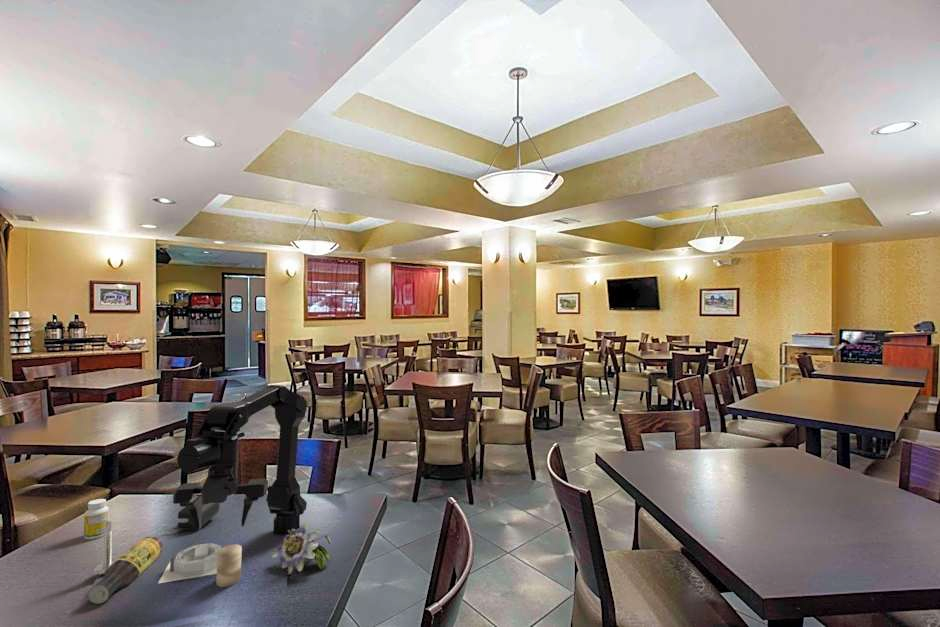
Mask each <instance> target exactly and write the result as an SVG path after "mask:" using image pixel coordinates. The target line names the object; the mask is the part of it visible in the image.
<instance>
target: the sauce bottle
mask: <svg viewBox="0 0 940 627" xmlns="http://www.w3.org/2000/svg"><path fill="white" fill-rule="evenodd" d="M163 547H164V546H163V542H162V541H161V539H160V538H158V537H157V536H145V537H144V538H142V539H140V540H139V541H137V542H136V543H135V544H134V545H132V547H130V548H129V549H127V551H125V553H123V554H122V555H121V556H120V557H118V558H117V559H116V560H114V561H115V562H114V563H113V564H112V565H111V566H110V567H109V568H108V569H107V570H106V571H105V574H103V575H104V576H103V578H102V579H101V580H100V581H99V582H97V583H95V585H93V586H92V587H91V588H90V590H89V591H88V594H87V595H88V599H89V601H90V602H91V603H93V604H95V605H100V604H103V603H105V602H106V601H108V599H110V598H111V597H112V595H113V594H114V593H115V592H116V591H117V590H121V589H123V588H124V587H127V586H128V585H130V584H131V583H133V581H134V580H136V579H137V578H138V577H139V576H140V575H141V574H142V573H143V572H144V571H145V570H146V569H148V568H149V567H150V565H151V564H152V563H153V562H155V561H156V560H157V558H158V557H159V556H160V554H162V552H163Z"/></svg>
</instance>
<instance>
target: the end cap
mask: <svg viewBox="0 0 940 627" xmlns="http://www.w3.org/2000/svg"><path fill="white" fill-rule="evenodd" d="M220 506H221V505H220V503H217V502H216V503H208V504H203V503H202V523H201V528H202V527H204V526H205V525H206V524H207V523H208V522H210V521H211V520H212V519H213V518H214V517H215V516H216V515H217V514H218V513H219V511H220ZM177 519H179V520H180V519H183V520H184V519H187V521H186V522H184V521H183V522H182V521H181V522H177V529H179V530H178V534H179V533H188V532H194V531H198V530H197V528H196V525H195V523H194V520H193V518H192V515H191V513H190V512H189V510H188V509H187V508H186V507H182V509H181V510H180V511H178V513H177Z"/></svg>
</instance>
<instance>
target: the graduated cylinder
mask: <svg viewBox="0 0 940 627" xmlns="http://www.w3.org/2000/svg"><path fill="white" fill-rule="evenodd" d="M103 535H104V536H102V551H101V552H102V554H101V555H102V556H101V557H102V559H101V560H102V561H101V563H99V564H97V566H95V567H94V569H93V573H94V574H98V577H100V576H101V575H104V574H105V571H106V570H107V569H108V568H109V567H110V566H111V565H112V564H113V563H114V562H115V561H116V560H112V559H113V530H112V521H111V520H109V521H107V522H105V523H104V534H103Z"/></svg>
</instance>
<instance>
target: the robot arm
mask: <svg viewBox="0 0 940 627" xmlns="http://www.w3.org/2000/svg"><path fill="white" fill-rule="evenodd" d="M267 407H271V408H273V409H274V418H275V420H276V421H277V424H278V426H279V437H278V438H279V439H278V451H277V452H278V453H277V461H276V462H277V464H276V478H275V479H274V481H273V483H272V484H271V485H269V481H268V479H266V478H265V477H264V478H250V479H249V481H248V482H247V483H245V484H243V483H241V484H239V480H238V465H239V460H238V457H239V439H240V438H243V437H245V436H246V433H245V432H244V431H242V430H240V429H242V428H243V427H244V426H246V424H247V423H248V422H249V419H250V418H251V417H252V416H254V415H255V414H257V413H259V412H260V411H262V410H264V409H266V408H267ZM307 407H308V401H307V400H306V398H305V397H304V396H303V395H301V394H299V393H297V392H295V391H292V390H290V389H289V388H288V387H287V386H284V385H281V384H280V385H279V384H269V385H267V386H266V387H265V388H262V389H261V390H259V391H257V392H253V393H252V394H251V395H248V396H246V397H244V398H242V399H240V400H237V401H235V402H226V403H220V404H217V405H213V406H212V407H210V409H209V410H208V413H207V414H206V416H205V417H204V419H203V421H202V423H201V424H200V426H199V429H198V430H197V433H196V434H195V438H190V439H187V440H186V441H185V446H183V447H182V448H181V449H180V450H179V452H178V454H177V456H176V459H177V461H176V462H177V465H178V467H179V469H180V470H181V471H182V472H184V473H187V474H190V473H193V472H198V471H199V470H203V469H205V468H208V471H207V475H206V476H207V477H206V478H205V481H204V482H203V485H202V484H201V482H187V483H183V484H182V485H180V486H179V487H178V488H177V490H176V489H175V491H174V493H173V495H172V496H173V497H172V504H174V505H176V504H177V505H178V504H179V506H180V507H182V508H187V509H188V510H189V512H190V513H191V515H192V518H193V520H194V523H195V525H196V528H197V531H200V530H201V529H202V527H201V523H202V503H203V504H208V503H216V502H217V503H219V504H222V503H224V502H226V501H227V499H228V497H229V496H232V495H236V494H244V496H245V497H244V499H243V509H242V516H241V527H244V526H245V524H246V521H247V519H248V516H249V514H250V510H251V508H252V505H253V504H254V502H257V501H258V500H259V499H260V498H262V497H265V495H266V493H267V495H266V500H265V501H266V502H267V507H268V510H269V513H270V514H271V515H272V514H274V515H275V517H273V535H275V536H276V535H279V536H286V535H288V534H289V533H288V530H290V532H291V530H292V529H296V530H297V529H298V528H299V529H300V528H301V525H300V520H301V519H300V516H301V515H304V512H305V511H306V509H307V503H308V502H307V501H306V500H305V499H304V498H303V497H302V496H301V486H300V484H299V482H298V480H297V478H296V466H297V465H296V464H297V453H298V452H297V451H298V436H299V427H300V425H301V423H302V422H303V420H304V419H305V417H306V411H307V409H308V408H307Z"/></svg>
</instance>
